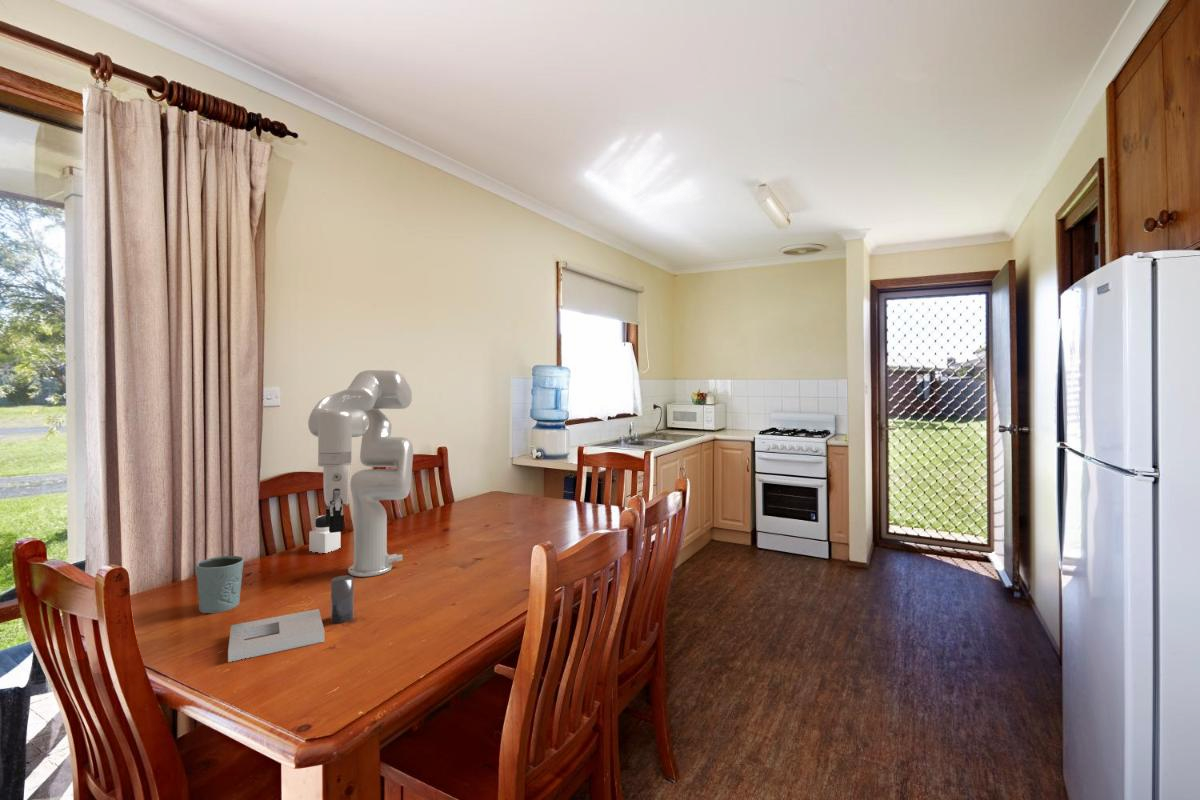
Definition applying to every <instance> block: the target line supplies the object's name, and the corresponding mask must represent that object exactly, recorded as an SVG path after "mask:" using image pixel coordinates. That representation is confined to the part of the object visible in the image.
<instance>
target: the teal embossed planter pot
mask: <svg viewBox="0 0 1200 800" xmlns="http://www.w3.org/2000/svg"><path fill="white" fill-rule="evenodd" d="M244 562H245V559H244V557H242V556H239V555H221V556H216V557H210V558H207V559H204V560H201V561H199V562H198V563H196V565H195V567H196V579H197V583H196V584H197V593H198V594H197V595H198V600H199V601H198V609H199V612H200V613H201V612H202V613H201V614H204V613H214V614H219V613H218V612H221V613H224V612H223V611H225V612H227V610H228V611H230V609H231V610H233V609H235V608H237V607H238V606H239V604H240V602H241V601H240V599H241V588H242V580H243V579H242V578H243V568H244ZM237 605H238V606H237ZM236 606H237V607H236ZM234 607H235V608H234ZM232 608H233V609H232Z"/></svg>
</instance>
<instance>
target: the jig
mask: <svg viewBox="0 0 1200 800" xmlns="http://www.w3.org/2000/svg"><path fill="white" fill-rule="evenodd" d="M229 633H230V634H229V640H228V649H227V663H231V662H232V661H233V662H237V661H242V660H246V659H249V658H250V657H251V658H257V657H260V656H264V655H269V654H275V653H279V652H282V651H287V650H292V649H296V648H301V647H306V646H311V645H315V644H319V643H324V642H325V628H324V624H323V620H322V616H321V613H320V608H315V609H312V610H305V611H300V612H296V613H290V614H288V613H287V614H284V615H278V616H273V617H267V618H263V619H258V620H252V621H247V622H241V623H237V624H236V623H235V624H231V625H230V632H229ZM245 658H246V659H245ZM251 658H250V659H251ZM241 659H242V660H241ZM233 662H232V663H233Z"/></svg>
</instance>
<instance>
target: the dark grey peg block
mask: <svg viewBox="0 0 1200 800" xmlns="http://www.w3.org/2000/svg"><path fill="white" fill-rule="evenodd" d="M330 617H331V619H330V621H331V623H333V624H344V623H347V622H351V621H352V620H353V619H354V576H353V575H340V576H336V577H333V578H332V579H331V580H330Z"/></svg>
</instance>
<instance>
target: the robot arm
mask: <svg viewBox="0 0 1200 800" xmlns="http://www.w3.org/2000/svg"><path fill="white" fill-rule="evenodd" d="M412 393H413V392H412V388H411V387H410V385H409V383H408V381H407V379H406V378H405V377H404V376H403V374H401V373H400V372H399V371H396V370H382V369H381V370H378V369H377V370H373V369H371V370H370V369H369V370H363V371H361V372H359V373H358V374H357V375H356V376H355V377H354V378H353V380H352V381H351V383H350V384H349V386H348V387H347V388H346V389H344V390H341V391H338V392H336V393H333V394H330V395H328V396H326V397H324V398H322V399H320V400H319V401H318V402H317V403H316V405H315V406H314V408H313V409H312V410H311V412H310V415H309V417H308V422H307V426H308V430H309V432H310V434H311V435H313V436H315V437H316V438H317V442H318V443H317V450H318V451H317V452H318V453H317V467H323V468H322V469H323V474H322V475H323V478H322V479H323V482H322V483H323V498H324V503H325V505H326V508H325V515H326V524H327V525H329V532H330V533H334V532H341V533H343V532H344V530H345V515H344V505H345V506H346V507H347V506H349V503H350V501H349V486H350V493H351V498H352V505H353V507H352V508H353V564H352V565H351V566H349V568H348V570H347V571H348V572H347V573H348V574H349V576H352V577H362V578H363V577H366V578H367V577H374V576H375V577H376V576H379V575H383V574H386V573H387V572H390V571H391V569H392V568H393V562H402V561H403V554H397V553H393V554H389V553H388V550H387V549H388V548H387V547H388V543H387V542H388V541H387V540H388V539H387V538H388V535H387V534H388V532H387V531H388V530H387V528H388V526H387V525H388V517H387V511H386V509H385V507H384V505H383V504H382V503H381V501H395V500H397V501H398V500H404V499H406V498H408V496H409V494H410V490H411V484H412V471H413V461H414V447H413V443H412V441H411V440H410V439H409V438H407V437H403V436H402V437H399V436H395V437H394V436H393V437H392V436H391V435H392V423H391V421H390V420H389V418H388V417H387V416H386V415H385V413H383V411H382V410H385V409H386V410H387V409H388V410H397V409H398V410H403V409H407V408H408V407H410V405H411V403H412V399H413V395H412ZM381 409H382V410H381ZM361 436H362V437H361ZM358 437H361V444H360V450H359V451H360V452H359V459H360V463H361V465H363V466H365V467H370V469H362V470H359V471H356V472H354V473H353V474H352V476H351V478H350V482H349V473H348V472H349V471H348V466H352V451H353V450H352V439H353V438H358ZM371 468H373V469H371ZM374 468H375V469H374ZM376 468H377V469H376ZM383 468H385V469H383ZM386 468H388V469H386ZM390 468H391V469H390ZM349 483H350V485H349Z"/></svg>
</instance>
